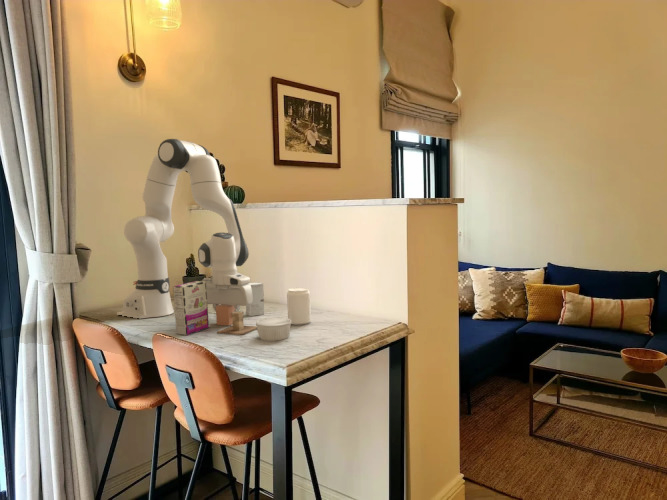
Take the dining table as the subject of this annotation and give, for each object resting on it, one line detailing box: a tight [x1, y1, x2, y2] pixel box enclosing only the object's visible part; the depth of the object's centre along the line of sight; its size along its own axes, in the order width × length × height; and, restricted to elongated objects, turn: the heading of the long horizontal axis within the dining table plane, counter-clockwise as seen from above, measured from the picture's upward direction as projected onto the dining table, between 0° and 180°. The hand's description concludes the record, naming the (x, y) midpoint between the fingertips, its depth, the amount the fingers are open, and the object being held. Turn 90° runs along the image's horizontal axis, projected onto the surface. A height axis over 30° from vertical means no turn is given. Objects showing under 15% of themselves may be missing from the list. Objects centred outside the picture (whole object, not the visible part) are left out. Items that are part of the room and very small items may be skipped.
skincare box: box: [245, 282, 265, 317], centre depth 197 cm, size 6×4×12 cm
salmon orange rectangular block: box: [215, 304, 235, 327], centre depth 183 cm, size 5×5×7 cm
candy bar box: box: [172, 280, 210, 336], centre depth 173 cm, size 11×5×16 cm, turn 153°
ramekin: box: [255, 316, 292, 342], centre depth 162 cm, size 11×11×5 cm
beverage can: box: [286, 287, 312, 326], centre depth 181 cm, size 8×8×12 cm
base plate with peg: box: [216, 311, 258, 336], centre depth 172 cm, size 10×10×6 cm
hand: (226, 316), depth 183 cm, fingers closed on salmon orange rectangular block, 5 cm apart
